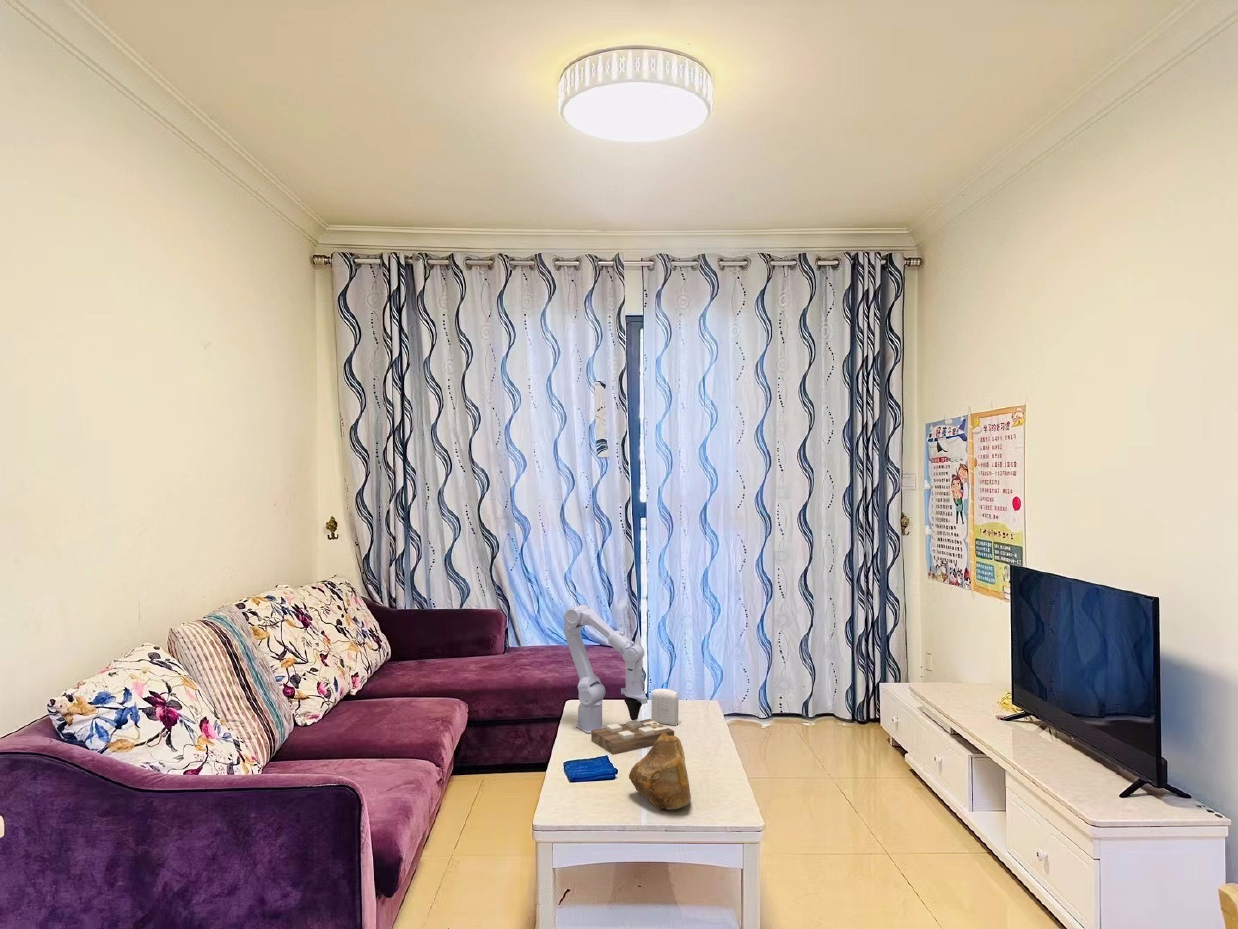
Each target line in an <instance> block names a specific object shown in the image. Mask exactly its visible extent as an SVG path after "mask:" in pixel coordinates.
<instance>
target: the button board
mask: <svg viewBox="0 0 1238 929" xmlns="http://www.w3.org/2000/svg"><path fill="white" fill-rule="evenodd" d="M638 721H639V722H641V723H642V727H647V726H649V727H650V728H652V729H654V730H655V734H650V735H645V736H644V735H642V734H640V733H638V728H634V729H631V728H629V727H627V726H626V723H623V724H618V725H619V726H621V727H622V731H619V732H623V731H630V732H632V733H634V738H631V739H626V740H623V739H621V738H619V737H618V732H614V733H611V732H609V731H607V730H606V727H605V728H602V729H596V730H591V733H590V734H591V736H590V738H591V740H590V741H591V742H592V743H594V742H595V743H594V744H595V745H598V746H599V747H600V748H602V749H604V750H605V751H607V752H608V753H610V754H611V755H618V754H622V753H626V752H631V751H636V750H639V749H640V750H641V749H645V748H650V747H653V746H654V744H655V742H656V741H657V739H658V738H659V736H660V735H661V734H663V733H666V734H667V735H669V736H675V730H673V729H672V728H669V727H668V726H665V724H661V723H658V722H656V721H654V720H652V718H648V719H644V720H638ZM642 727H639V728H642Z"/></svg>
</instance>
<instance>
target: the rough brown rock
mask: <svg viewBox="0 0 1238 929" xmlns="http://www.w3.org/2000/svg"><path fill="white" fill-rule="evenodd" d="M686 766H687V765H686V757H685V751H684V748H683V745H682V742H681V739H680V738H679V737H678V736H675V735H674V736H669V735H667V734H666V733H663V734H661V735H660V736H659V738H658V739H657V741H656V742H655V744H654V746H651V748H650V749H649V751H648V752H647V753H646V755H645V756H644V757H643V758H641V759H640V760H639V761H638V762H636V763H635V764H634V765H633V766H632V768H631V769H630V772H629V774H628V779H629V780H630V782H631V783H632V785H633V787H634V788H635V790H636V791H637V793H638V794H640V795H642V796H644V797H646V799H648V800H649V802H650V803H651V804H652V805H653V806H654V807H655V808H657V809H659V810H660V811H661V810H664V809H666V810H668V811H670V810H678V809H683V808H685V807H687V806H688V805H689V804H690V803H691V800H692V795H691V794H692V793H691V788H690V782H689V781H690V780H689V776H688V771H687V767H686Z"/></svg>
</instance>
